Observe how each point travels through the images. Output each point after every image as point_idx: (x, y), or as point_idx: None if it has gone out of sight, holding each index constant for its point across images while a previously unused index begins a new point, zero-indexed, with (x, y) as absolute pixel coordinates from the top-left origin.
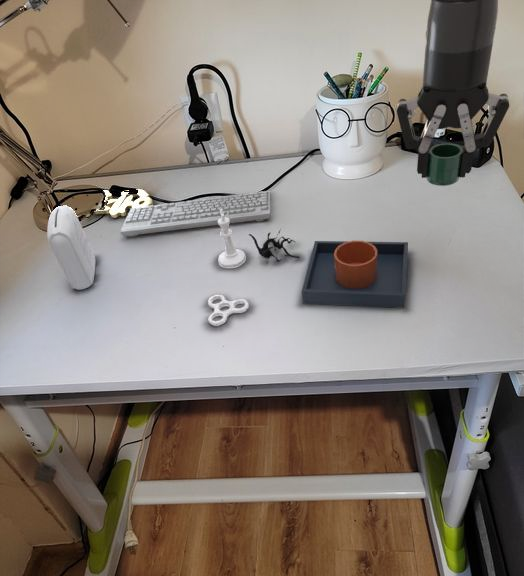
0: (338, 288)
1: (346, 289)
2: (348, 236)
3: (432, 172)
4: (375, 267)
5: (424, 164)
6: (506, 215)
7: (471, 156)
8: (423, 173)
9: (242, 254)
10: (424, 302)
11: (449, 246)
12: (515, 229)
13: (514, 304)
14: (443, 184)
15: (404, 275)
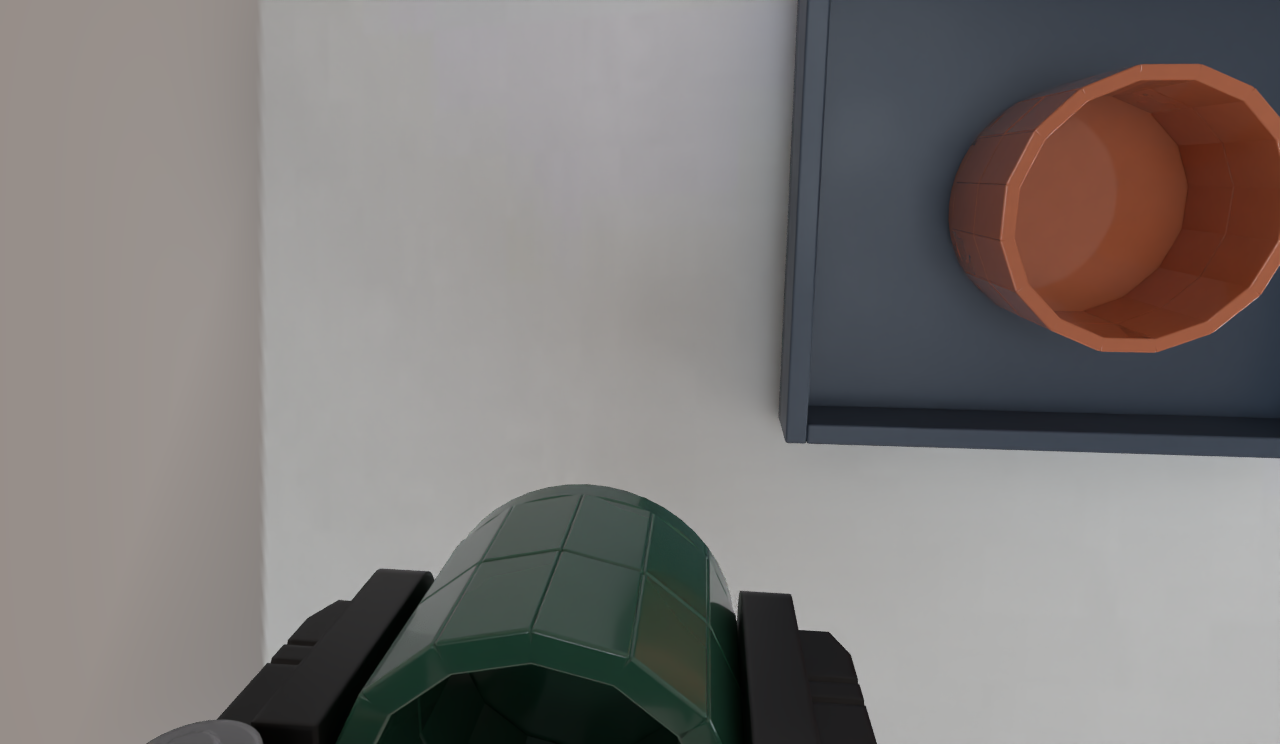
0: None
1: None
2: (1091, 579)
3: (688, 583)
4: (987, 166)
5: (785, 671)
6: None
7: (247, 709)
8: (777, 613)
9: None
10: (695, 21)
11: None
12: (280, 610)
13: (281, 39)
14: (579, 490)
15: (811, 127)
